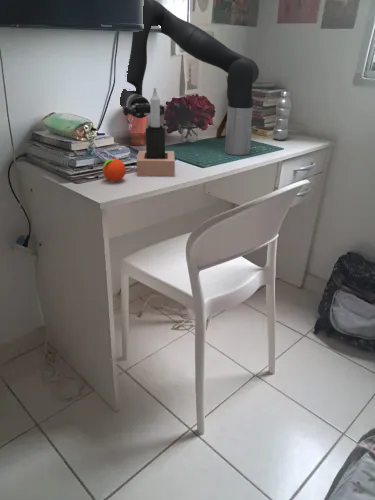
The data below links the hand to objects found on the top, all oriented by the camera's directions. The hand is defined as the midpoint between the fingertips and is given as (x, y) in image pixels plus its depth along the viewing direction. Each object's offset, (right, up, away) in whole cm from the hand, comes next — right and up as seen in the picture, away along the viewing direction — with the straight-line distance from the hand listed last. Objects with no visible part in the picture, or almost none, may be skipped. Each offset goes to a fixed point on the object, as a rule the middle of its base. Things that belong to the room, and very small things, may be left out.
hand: (147, 113), depth 135 cm
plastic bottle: (+55, +3, +43) cm, 70 cm away
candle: (+3, -19, -1) cm, 19 cm away
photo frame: (+33, +6, +47) cm, 58 cm away
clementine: (-9, -25, -11) cm, 29 cm away
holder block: (+3, -20, -1) cm, 20 cm away
